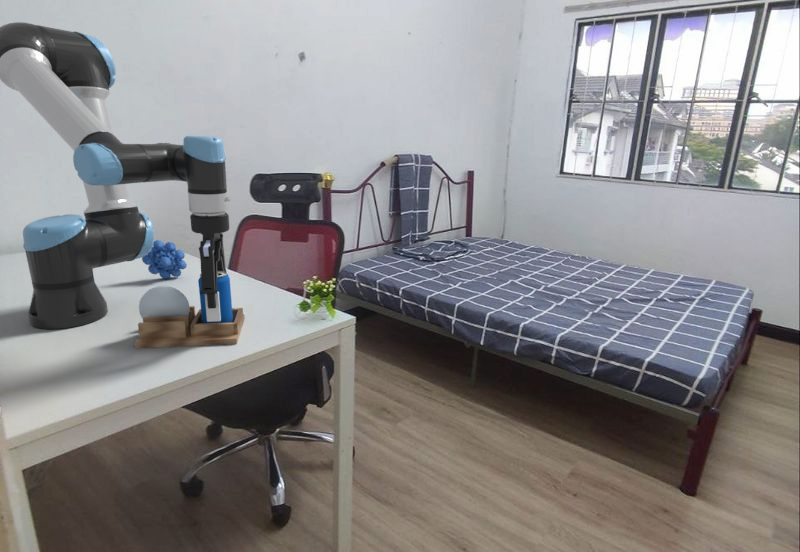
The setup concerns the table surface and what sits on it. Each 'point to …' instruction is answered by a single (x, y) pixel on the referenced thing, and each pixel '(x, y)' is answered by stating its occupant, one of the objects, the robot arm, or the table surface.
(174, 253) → the blue bumpy lump
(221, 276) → the beverage can
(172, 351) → the table surface
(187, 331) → the wooden holder tray
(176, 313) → the pale blue plate
